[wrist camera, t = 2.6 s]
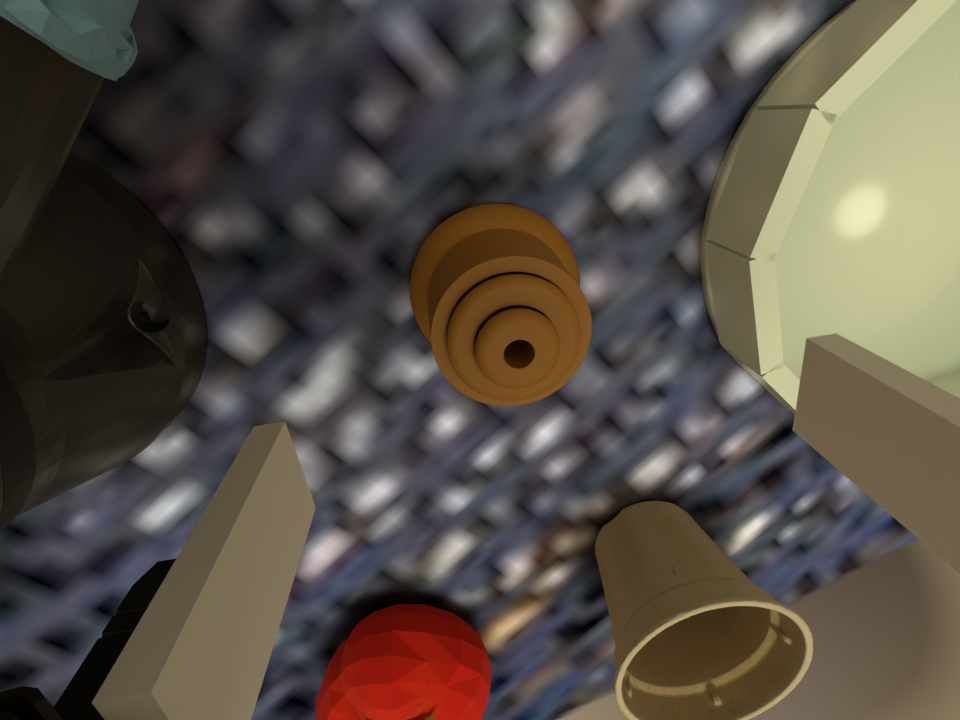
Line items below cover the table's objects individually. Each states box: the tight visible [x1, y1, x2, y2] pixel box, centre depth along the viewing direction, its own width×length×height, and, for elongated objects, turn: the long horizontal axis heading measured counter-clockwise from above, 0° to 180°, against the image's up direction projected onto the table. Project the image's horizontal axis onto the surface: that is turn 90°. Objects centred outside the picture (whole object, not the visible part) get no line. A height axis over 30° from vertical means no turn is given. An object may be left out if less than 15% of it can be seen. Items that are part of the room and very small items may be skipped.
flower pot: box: [595, 501, 813, 720], centre depth 28 cm, size 9×9×9 cm
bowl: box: [700, 0, 960, 415], centre depth 22 cm, size 20×20×4 cm
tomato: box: [315, 604, 492, 720], centre depth 31 cm, size 10×11×6 cm
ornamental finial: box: [410, 203, 592, 406], centre depth 20 cm, size 8×8×8 cm
